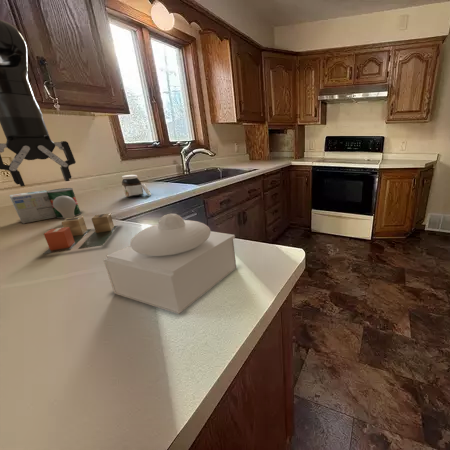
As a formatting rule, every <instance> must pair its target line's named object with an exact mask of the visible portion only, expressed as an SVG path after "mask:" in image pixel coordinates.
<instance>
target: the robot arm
mask: <svg viewBox="0 0 450 450" xmlns="http://www.w3.org/2000/svg"><path fill="white" fill-rule="evenodd" d="M28 71H29V70H28V47H27V43H26V41H25V38H24V37H23V35H22V33H20V31H19V30H18V28H16V27H15V26H14V25H12V24H11V23H9V22H7V21H6V20H3V19H2V20H1V19H0V127H1V128H2V131H3V134H4V136H5V139H6V142H5V143H3V142H1V143H0V170H4V171H8V172H9V173H10V175H11V177H12V180H13V182H14V183H15V184H16V185H19V186H20V187H26V184H25V182H24V180H23V177H22V175H21V172H20V171H19V170H18V168H19V167H20V165H22V163H23V161H24V160H25V161H26V160H27V161H35V160H47V159H50V160H52V161H53V162H55V163H56V164H58V165H59V166H60V171H61V175H62V177H63V180H64V181H65V182H70V179H72V173H71V171H70V168H69V167H70V166H72V165H75V164H76V158H75V157H74V154H73V152H72V151H73V150H72V149H71V146H70V144H69V142H68V141H66V140H64V141H63V140H62V141H55V142H54V141H53V140H52V139H51V136H50V134H49V131H48V129H47V126H46V123H45V120H44V116H43V115H44V114H43V113H42V110H41V108H40V106H39V103H38V102H37V100H36V97H35V95H34V92H33V89H32V86H31V84H30V81H29V73H28ZM56 147H57V148H58V149H59V151H63V153H64V155H65V156H64V157H65V158H66V159H65V160H64V159H62V158H60V157H59V156H58V155H57V154H55V153H53V151H54V150H55V148H56ZM6 148H7V149H8V150H10V151H11V152H13V153H14V154H15V155H14V157H13V159H12V160H11V162H10V163H9V164H4V162H3V161H4V160H3V157H2V155H1V153H4V152H5V149H6Z"/></svg>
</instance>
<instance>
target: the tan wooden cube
mask: <svg viewBox="0 0 450 450" xmlns="http://www.w3.org/2000/svg"><path fill="white" fill-rule="evenodd" d="M61 224H62V228H64V227H70V230H71V233H72V236H76V235H83V234H84V233H85V232H86V231H87V230H88V227H87V225H86V222H85V219H84V216H75V217H74V218H67V219H64V220H62V221H61Z"/></svg>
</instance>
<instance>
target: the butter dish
mask: <svg viewBox="0 0 450 450" xmlns="http://www.w3.org/2000/svg"><path fill="white" fill-rule="evenodd" d="M235 237H236V236H235V234H231V233H225V232H219V231H212V230H211V228H210V226H209V225H207V224H205V223H204V222H201V221H197V220H189V219H183V217H182V216H181V215H179V214H177V213H167V214H164V215H162V216H161V217H160V218H159V220H158V223H156V224H153V225H151V226H148V227H146V228H144V229H142V230H140V231H139V232H138V233H136V234H135V235H134V236H133V237H132V239H130V244H129V246H126V247H124V248H121V249H119V250H116V251H114V252H111V253H109V254H107V255H106V258H104V259H103V263H104V266H105V269H106V272H107V275H108V278H109V281H110V284H111V287H112V290H113V293H114V295H118V296H120V297H125V298H127V299H130V300H133V301H137V302H140V303H142V304H146V305H149V306H153V307H155V308H158V309H162V310H165V311H168V312H171V313H174V314H177V315H180V314H181V313H182V312H184V310H186V309H187V308H189V307H190V306H191V305H192V304H194V303H195V302H196V301H197V300H198V299H200V298H201V297H202V296H203V295H205V294H206V293H207V292H208V291H210V290H211V289H212V288H213V287H214V286H216V285H217V284H218V283H220V282H221V281H222V280H223V279H224V278H227V276H228V275H229V274H231V273H232V272H233V271H235V270H236V269H237V262H236V254H235V245H234V244H235V243H234V239H236V238H235Z"/></svg>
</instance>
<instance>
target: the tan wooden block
mask: <svg viewBox="0 0 450 450" xmlns="http://www.w3.org/2000/svg"><path fill="white" fill-rule="evenodd" d="M91 222H92V226H93V227H94V232H95V231H96V233H98V232H106V231H111V230H112V229H113V228H114V226H115V224H114V221H113V216H112V214H111V213H102V214H95V215H94V216H92V217H91Z"/></svg>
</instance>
